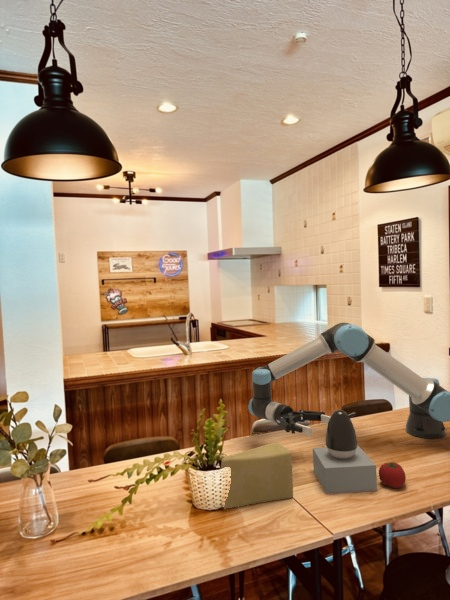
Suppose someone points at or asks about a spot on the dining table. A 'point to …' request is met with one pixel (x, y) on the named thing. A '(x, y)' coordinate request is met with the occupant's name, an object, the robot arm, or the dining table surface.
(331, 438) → the pump dispenser
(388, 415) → the dining table surface
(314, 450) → the slate block
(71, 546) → the dining table surface
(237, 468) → the cheese
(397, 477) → the tomato
